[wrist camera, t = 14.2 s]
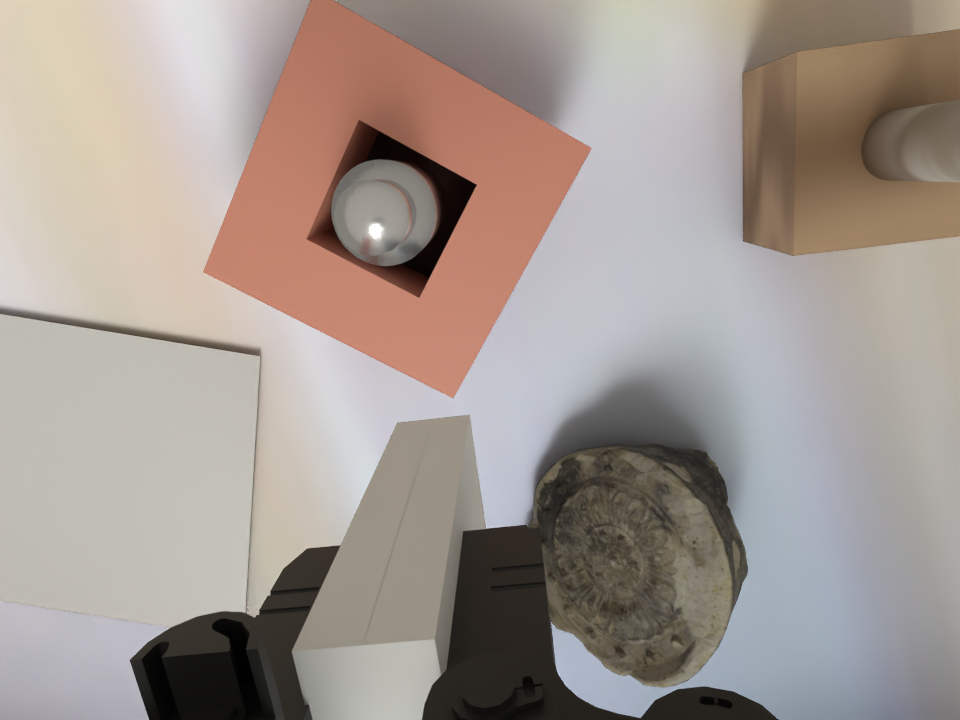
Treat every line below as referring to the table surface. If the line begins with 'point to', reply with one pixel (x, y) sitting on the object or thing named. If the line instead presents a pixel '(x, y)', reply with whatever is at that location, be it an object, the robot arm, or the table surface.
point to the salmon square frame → (347, 143)
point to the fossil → (640, 557)
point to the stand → (853, 145)
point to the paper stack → (124, 473)
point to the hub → (399, 207)
